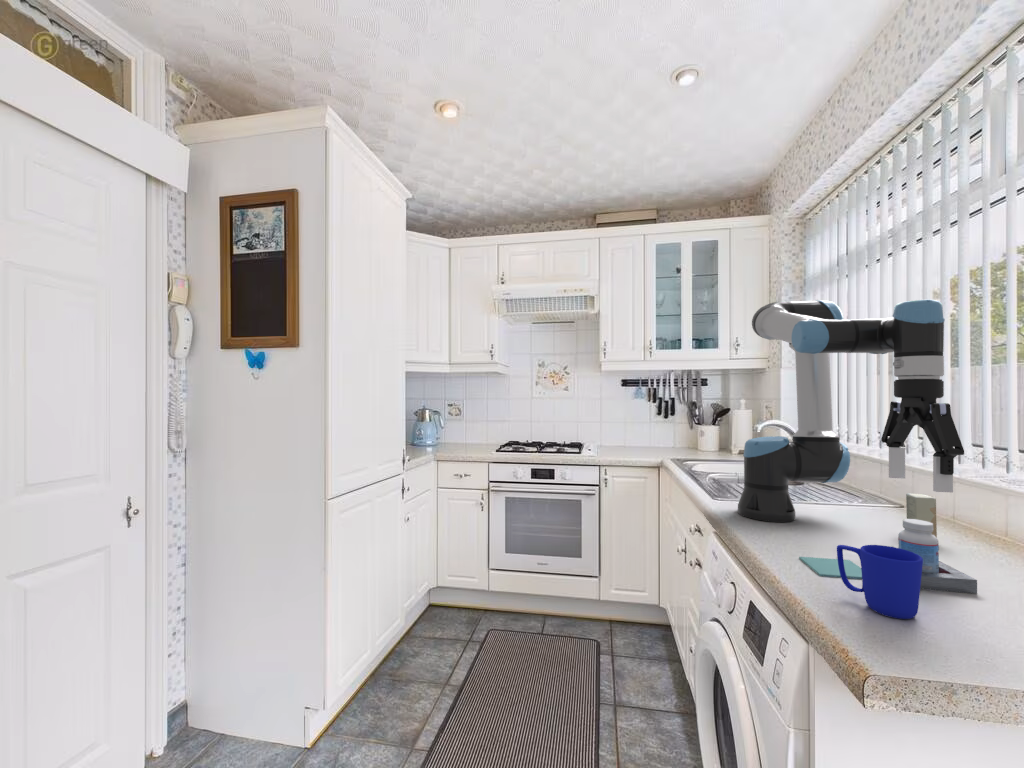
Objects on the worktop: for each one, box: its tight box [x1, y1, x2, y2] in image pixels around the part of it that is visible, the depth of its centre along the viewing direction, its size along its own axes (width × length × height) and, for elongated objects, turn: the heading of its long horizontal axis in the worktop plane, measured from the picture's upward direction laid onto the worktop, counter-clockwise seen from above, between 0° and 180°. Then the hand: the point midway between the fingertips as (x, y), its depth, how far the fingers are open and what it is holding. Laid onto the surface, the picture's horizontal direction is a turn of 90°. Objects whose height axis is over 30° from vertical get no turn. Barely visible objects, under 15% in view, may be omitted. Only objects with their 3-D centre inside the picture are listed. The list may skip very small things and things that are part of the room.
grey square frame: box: [920, 560, 978, 595], centre depth 93 cm, size 12×12×2 cm
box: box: [905, 492, 938, 539], centre depth 117 cm, size 5×4×11 cm
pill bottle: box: [897, 518, 940, 573], centre depth 93 cm, size 6×6×11 cm
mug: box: [836, 544, 923, 620], centre depth 80 cm, size 8×12×10 cm
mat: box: [798, 556, 862, 580], centre depth 97 cm, size 10×10×1 cm
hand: (918, 484), depth 93 cm, fingers open, 13 cm apart
